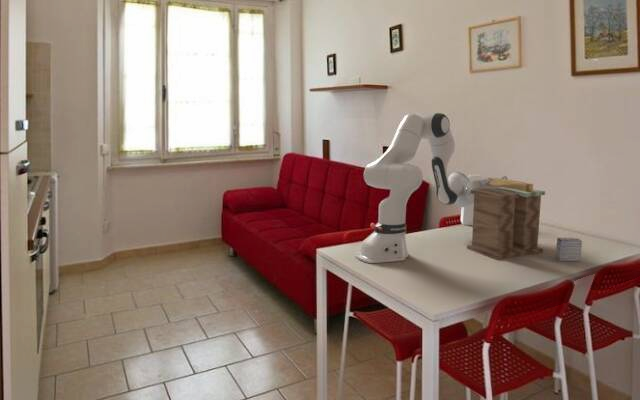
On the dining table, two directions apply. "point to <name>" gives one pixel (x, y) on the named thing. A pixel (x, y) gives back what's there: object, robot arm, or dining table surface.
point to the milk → (468, 211)
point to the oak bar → (511, 184)
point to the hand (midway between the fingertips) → (497, 178)
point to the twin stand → (505, 222)
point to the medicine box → (568, 249)
